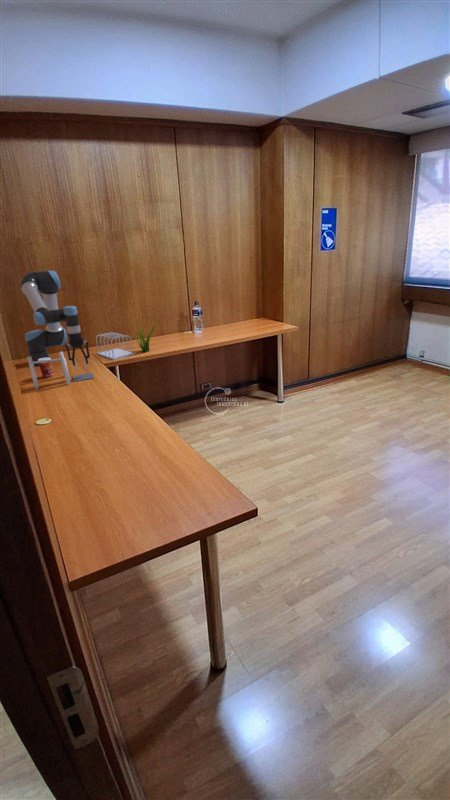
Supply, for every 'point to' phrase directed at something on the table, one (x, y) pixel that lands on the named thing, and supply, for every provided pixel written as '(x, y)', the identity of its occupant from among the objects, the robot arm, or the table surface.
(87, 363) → the robot arm
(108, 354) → the file sorter
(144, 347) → the decorative plant
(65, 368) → the white hurdle
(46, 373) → the coffee cup
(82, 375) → the mat
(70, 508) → the table surface
